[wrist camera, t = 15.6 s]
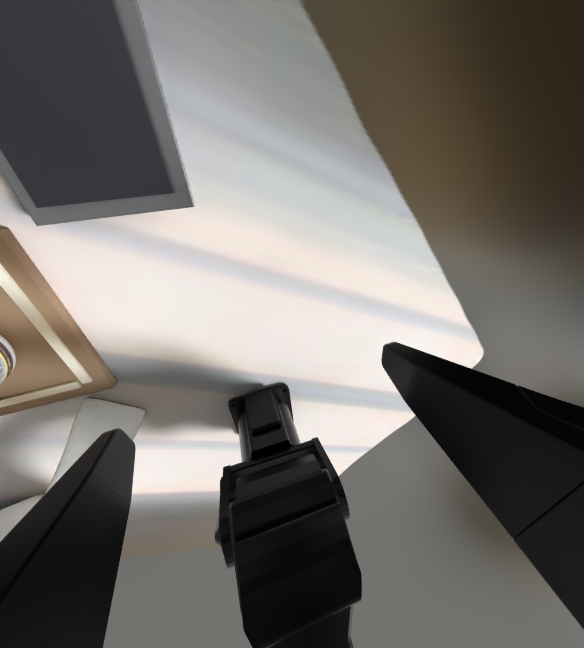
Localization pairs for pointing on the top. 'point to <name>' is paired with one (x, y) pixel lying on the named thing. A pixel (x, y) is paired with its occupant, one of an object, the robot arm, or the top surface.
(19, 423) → the top surface
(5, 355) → the supplement bottle
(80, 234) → the top surface
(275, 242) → the top surface
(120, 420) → the spoon rest
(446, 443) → the robot arm
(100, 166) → the pad
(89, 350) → the brown flat square
